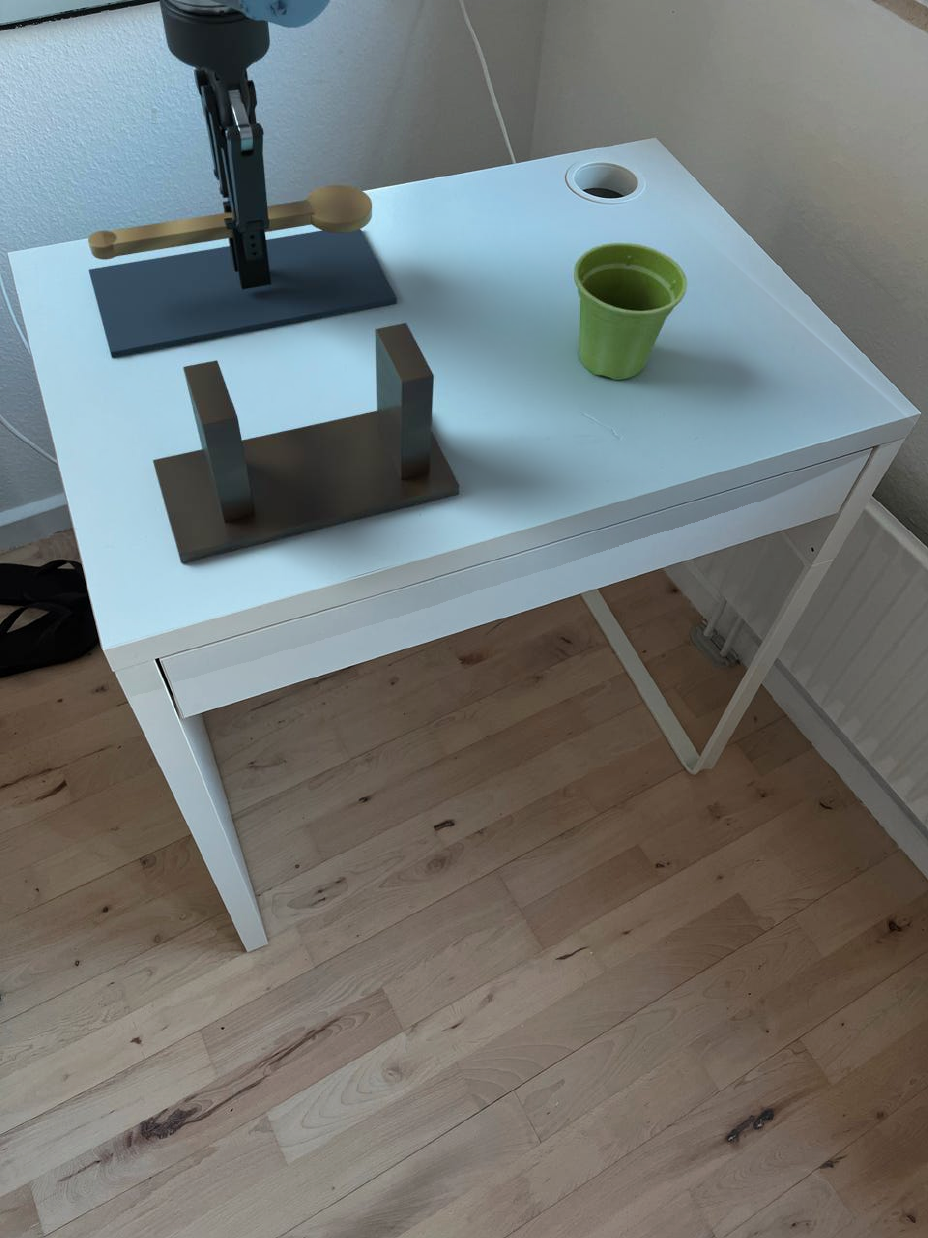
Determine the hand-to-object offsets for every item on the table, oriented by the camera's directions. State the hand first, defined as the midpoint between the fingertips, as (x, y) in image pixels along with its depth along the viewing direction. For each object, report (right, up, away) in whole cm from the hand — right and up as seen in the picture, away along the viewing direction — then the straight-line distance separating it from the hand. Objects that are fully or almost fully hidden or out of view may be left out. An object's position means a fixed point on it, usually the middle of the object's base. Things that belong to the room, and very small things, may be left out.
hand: (252, 275), depth 86 cm
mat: (-1, -1, +1) cm, 2 cm away
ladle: (0, +2, -4) cm, 5 cm away
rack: (+7, -21, -12) cm, 25 cm away
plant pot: (+33, -8, -1) cm, 34 cm away
